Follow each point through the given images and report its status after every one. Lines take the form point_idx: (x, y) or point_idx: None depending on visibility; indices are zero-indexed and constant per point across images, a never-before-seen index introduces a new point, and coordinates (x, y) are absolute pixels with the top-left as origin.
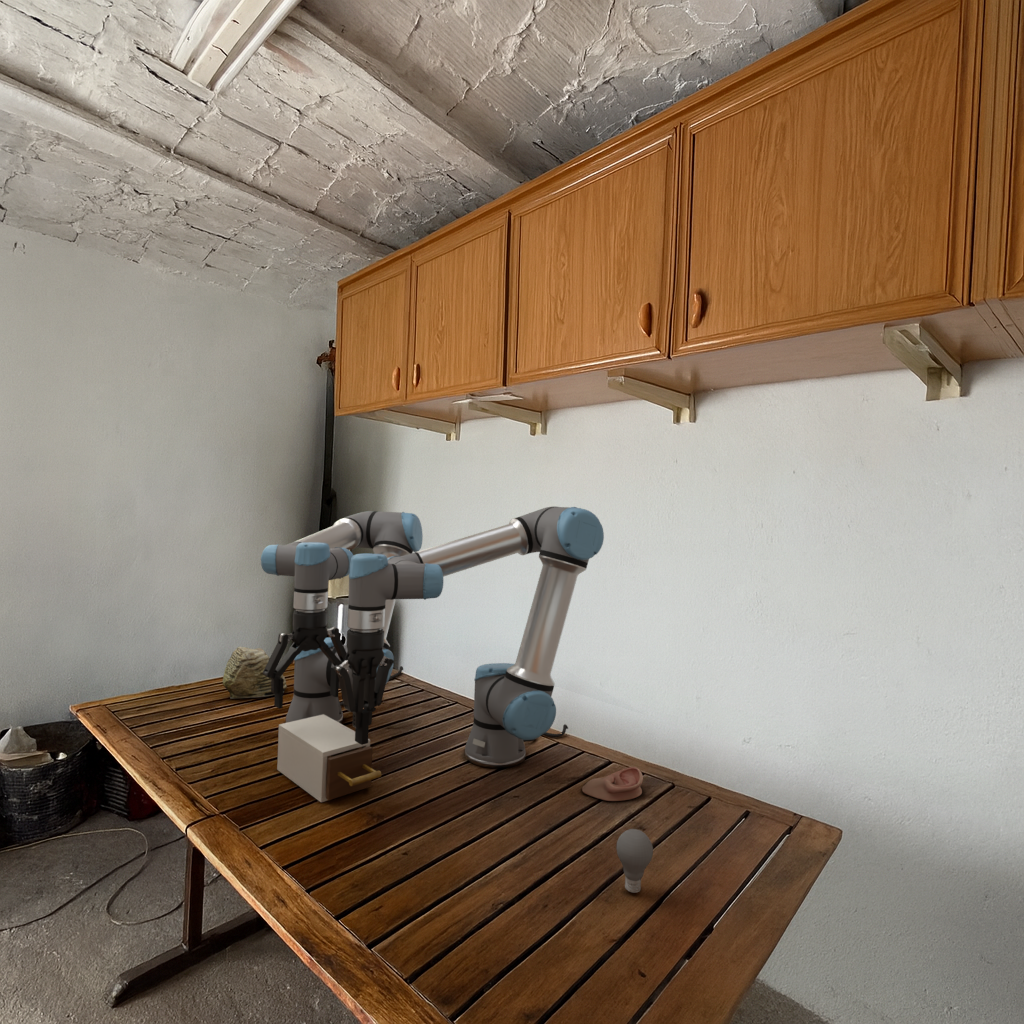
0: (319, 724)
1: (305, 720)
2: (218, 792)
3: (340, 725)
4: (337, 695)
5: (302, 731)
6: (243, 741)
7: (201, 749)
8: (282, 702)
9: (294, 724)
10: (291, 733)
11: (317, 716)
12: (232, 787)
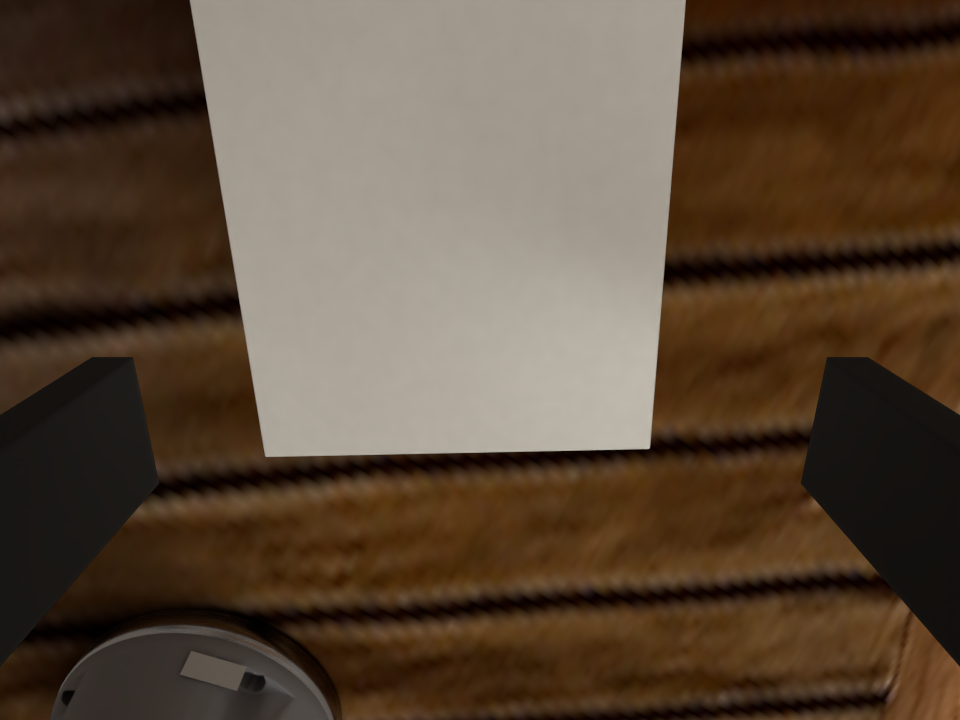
0: (390, 265)
1: (445, 414)
2: (923, 262)
3: (237, 128)
4: (93, 363)
5: (583, 196)
6: (561, 688)
7: (732, 701)
8: (870, 382)
9: (556, 382)
10: (664, 228)
11: (327, 441)
12: (849, 274)
